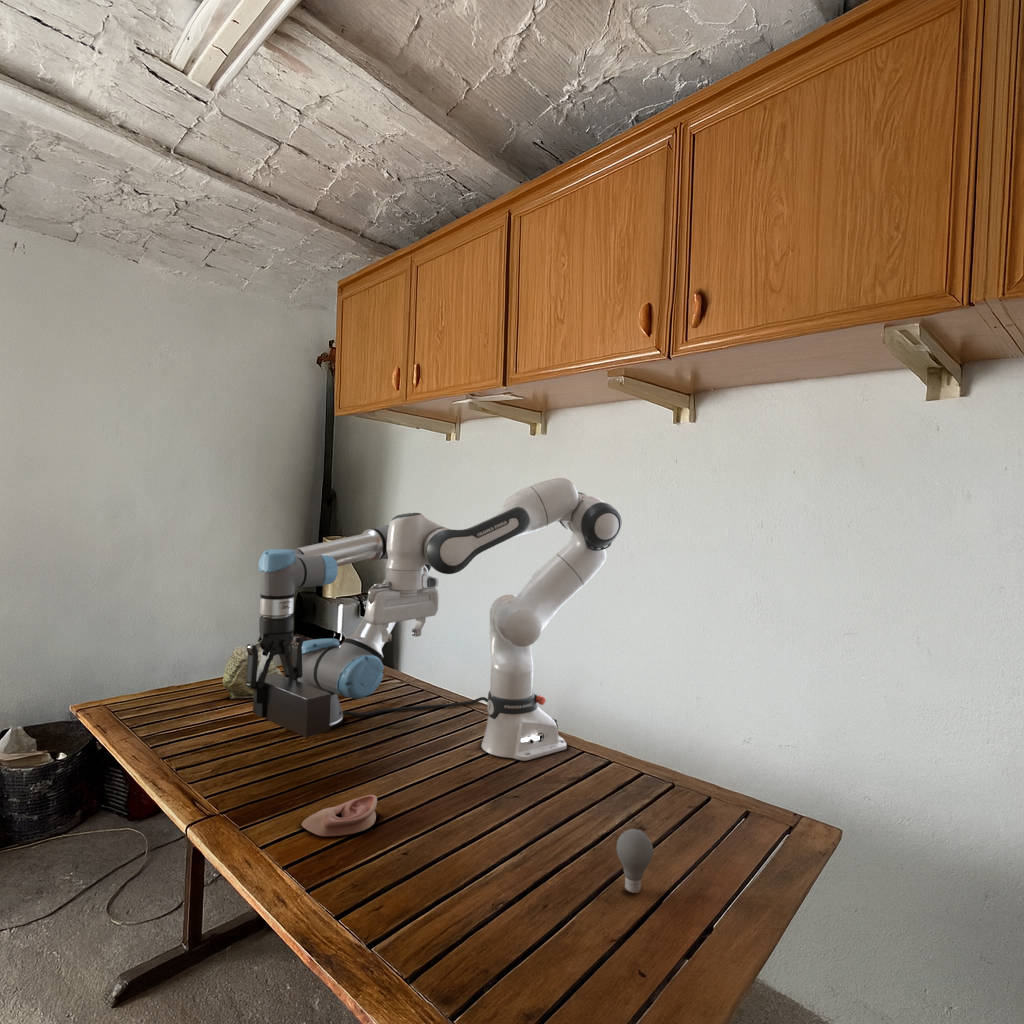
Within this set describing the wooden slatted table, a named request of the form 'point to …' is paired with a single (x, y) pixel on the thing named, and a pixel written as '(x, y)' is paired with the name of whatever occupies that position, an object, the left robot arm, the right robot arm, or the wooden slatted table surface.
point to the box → (296, 705)
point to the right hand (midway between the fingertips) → (401, 638)
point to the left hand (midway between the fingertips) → (273, 712)
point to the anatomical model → (343, 817)
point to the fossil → (241, 673)
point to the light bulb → (634, 857)
